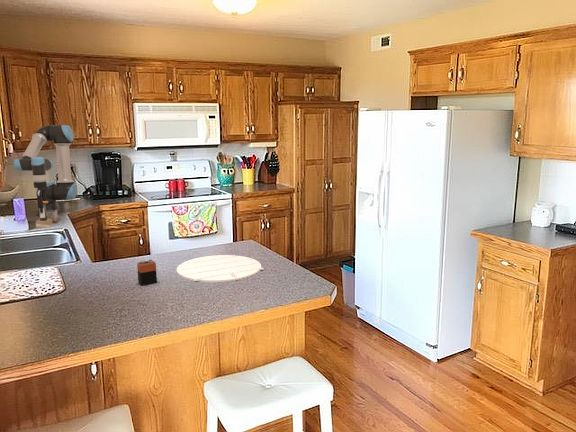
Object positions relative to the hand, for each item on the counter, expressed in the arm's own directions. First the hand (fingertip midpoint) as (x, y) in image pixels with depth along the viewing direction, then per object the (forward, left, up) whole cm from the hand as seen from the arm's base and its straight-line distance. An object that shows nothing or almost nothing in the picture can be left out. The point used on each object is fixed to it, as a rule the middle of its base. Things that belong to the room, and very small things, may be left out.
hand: (43, 216), depth 310 cm
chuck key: (0, 0, -6) cm, 6 cm away
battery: (+132, +70, -6) cm, 150 cm away
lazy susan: (+119, +102, -7) cm, 157 cm away
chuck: (-14, 0, -6) cm, 15 cm away
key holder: (0, 0, -6) cm, 6 cm away
